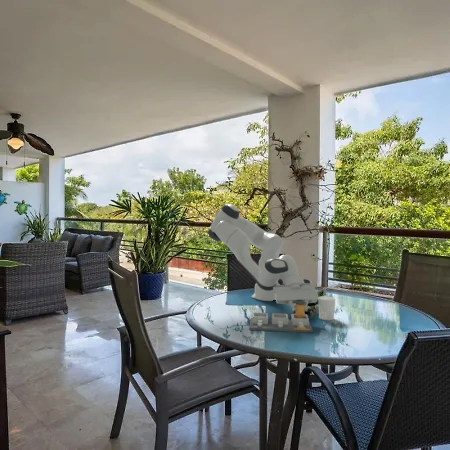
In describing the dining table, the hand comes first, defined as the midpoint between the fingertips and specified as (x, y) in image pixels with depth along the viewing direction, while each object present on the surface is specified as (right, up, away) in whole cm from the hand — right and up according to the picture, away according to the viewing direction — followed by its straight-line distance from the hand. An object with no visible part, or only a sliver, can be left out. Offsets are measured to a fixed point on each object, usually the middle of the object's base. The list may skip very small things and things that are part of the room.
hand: (300, 310), depth 162 cm
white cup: (+15, -7, +12) cm, 20 cm away
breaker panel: (-9, -7, -1) cm, 12 cm away
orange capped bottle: (0, -5, +1) cm, 5 cm away
